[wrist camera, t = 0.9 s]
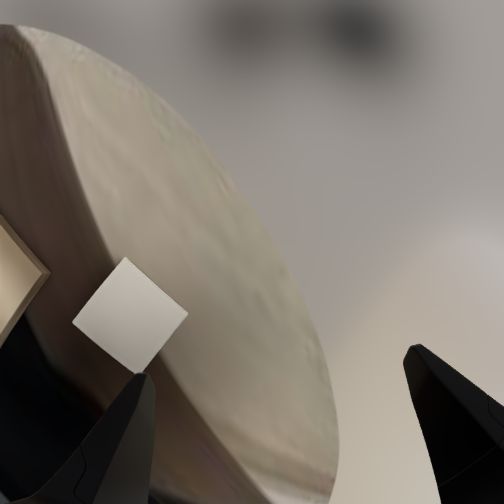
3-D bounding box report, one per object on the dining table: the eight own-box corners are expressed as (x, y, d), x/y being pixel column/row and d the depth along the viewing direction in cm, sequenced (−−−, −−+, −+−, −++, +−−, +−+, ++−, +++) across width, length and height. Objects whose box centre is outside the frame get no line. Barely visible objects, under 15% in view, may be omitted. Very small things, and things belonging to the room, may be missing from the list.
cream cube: (132, 354, 20) (138, 376, 15) (81, 311, 18) (72, 322, 14) (172, 304, 22) (188, 313, 17) (123, 260, 20) (125, 256, 16)
